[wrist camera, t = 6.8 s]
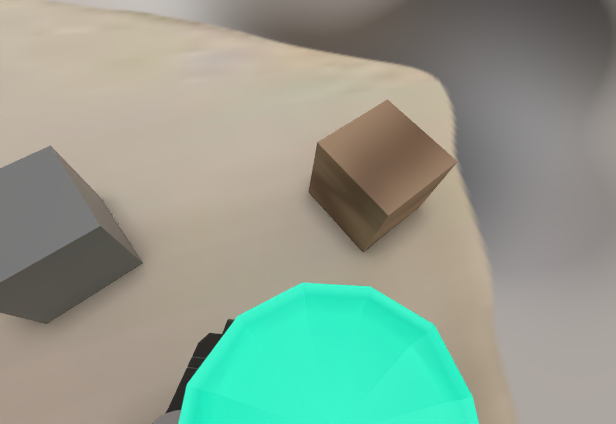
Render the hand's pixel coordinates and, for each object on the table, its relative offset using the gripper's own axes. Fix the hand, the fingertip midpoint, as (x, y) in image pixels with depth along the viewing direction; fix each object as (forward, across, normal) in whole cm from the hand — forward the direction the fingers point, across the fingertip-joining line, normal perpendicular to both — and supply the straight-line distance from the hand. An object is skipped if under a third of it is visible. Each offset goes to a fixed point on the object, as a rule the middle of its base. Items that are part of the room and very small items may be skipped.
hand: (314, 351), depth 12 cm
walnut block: (+11, -3, -3) cm, 12 cm away
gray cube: (+7, +13, +1) cm, 14 cm away
